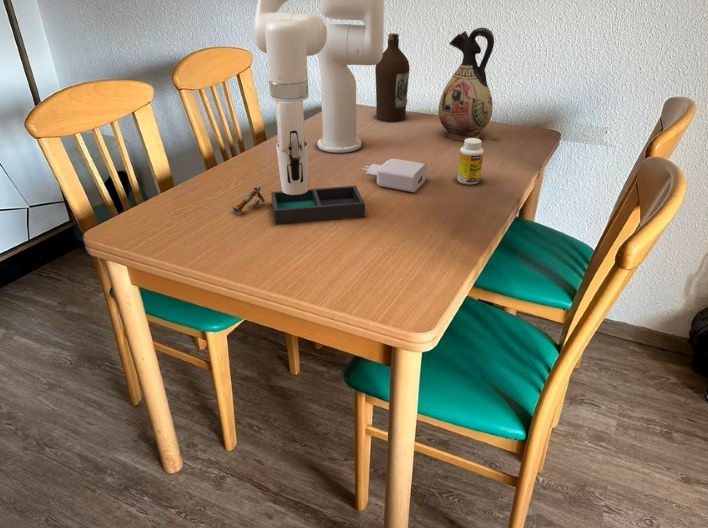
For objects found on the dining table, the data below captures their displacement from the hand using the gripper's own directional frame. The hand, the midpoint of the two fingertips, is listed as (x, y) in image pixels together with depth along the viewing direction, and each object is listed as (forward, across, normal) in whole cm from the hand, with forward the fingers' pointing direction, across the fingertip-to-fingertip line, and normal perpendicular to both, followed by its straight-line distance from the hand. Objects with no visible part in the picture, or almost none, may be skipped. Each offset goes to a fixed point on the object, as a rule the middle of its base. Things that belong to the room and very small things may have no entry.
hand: (294, 177), depth 122 cm
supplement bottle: (+8, -10, +44) cm, 46 cm away
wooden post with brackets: (+8, -4, -10) cm, 14 cm away
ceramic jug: (+8, -43, +55) cm, 70 cm away
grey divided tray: (+8, 0, +5) cm, 9 cm away
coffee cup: (+3, 0, 0) cm, 3 cm away
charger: (+8, -13, +25) cm, 29 cm away
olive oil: (+8, -66, +38) cm, 76 cm away
